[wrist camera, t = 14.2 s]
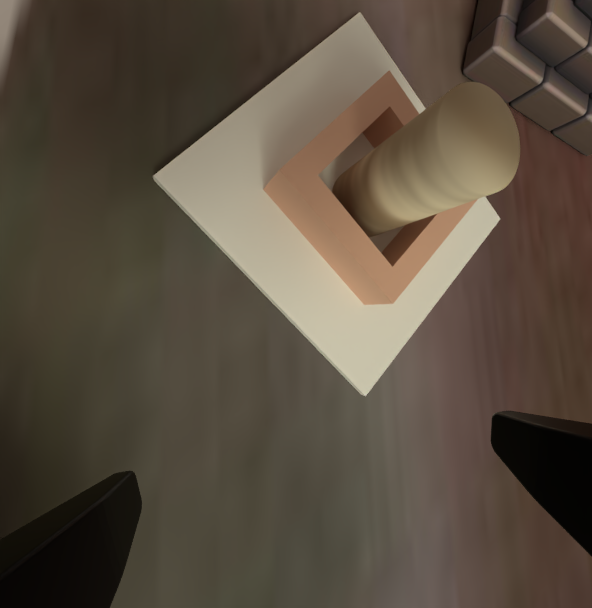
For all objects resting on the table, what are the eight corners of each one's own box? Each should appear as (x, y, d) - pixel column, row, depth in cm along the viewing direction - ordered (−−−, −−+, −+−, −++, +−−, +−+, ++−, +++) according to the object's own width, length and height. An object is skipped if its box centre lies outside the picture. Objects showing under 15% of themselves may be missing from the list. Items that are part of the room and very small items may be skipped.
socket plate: (360, 394, 23) (394, 408, 19) (153, 179, 18) (151, 150, 15) (493, 220, 28) (539, 208, 24) (355, 19, 23) (387, -30, 20)
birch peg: (380, 248, 23) (506, 212, 15) (322, 219, 21) (425, 159, 13) (399, 188, 24) (529, 119, 15) (343, 155, 22) (455, 59, 14)
